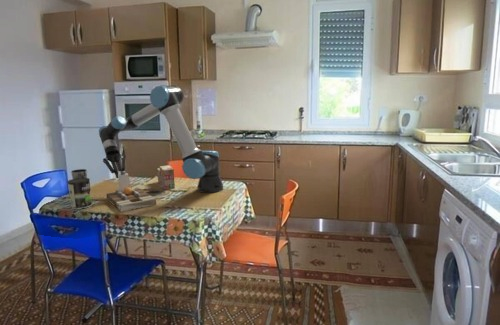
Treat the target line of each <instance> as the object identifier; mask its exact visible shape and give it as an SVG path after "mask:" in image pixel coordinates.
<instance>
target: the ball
mask: <svg viewBox="0 0 500 325" xmlns="http://www.w3.org/2000/svg"><path fill="white" fill-rule="evenodd" d="M131 188H132V187H130V188H129V187H127V188H125V189H124V193H125V194H126V195H129V194H131V192H132V190H131Z"/></svg>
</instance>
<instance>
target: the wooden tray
mask: <svg viewBox="0 0 500 325" xmlns="http://www.w3.org/2000/svg"><path fill="white" fill-rule="evenodd" d="M130 188H131V190H132V192H131V194H129V195H126V194H125V193H122V192H120V191H119V188H118V189H117V188H116V189H115V191H114V192H109V193H106V200H107V201H109V202H110V201H111V202H112V203H113V204H114V205H115V206H116V207H115V206H114V205H113V204H112V203H111V202H110V203H111V204H112V205H113V206H114V207H115V208H117V210H119V211H120V212H121V211H123V212H127V211H126V210H128V211H131V209H133V210H137V209H136V208H138V209H141V207H143V208H147V207H151V206H156V205H157V199H156V198H155V197H154V196H152V195H151V194H149V193H147V192H146V191H144V190H142V189H141V188H140V187H136V188H132V187H130Z"/></svg>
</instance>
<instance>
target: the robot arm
mask: <svg viewBox="0 0 500 325" xmlns="http://www.w3.org/2000/svg"><path fill="white" fill-rule="evenodd" d="M149 95H150V96H149V101H150V104H149V105H147V106H145V107H143V108H142V109H140V110H138V111H137V112H136V113H134V114H132V115H130V116H129V117H125V118H124V117H123V116H121V115H115V117H113V118H112V119H111V121H110V122H109V124H108V125H102V126H101V127H99V129H98V135H99V137H100V138H99V139H100V141H101V144H102V146H103V150H104V153H105V156H106V157H105V158H103V159H102V162H103V163H104V165H106V167H107V169H108V170H109V172H110V173H111V174H114V175H115V177H116V178H117V179H118V174H121V173H120V172H121V171H125V172H126V163H125V162H126V161H125V160H126V155H122V154H121V153H120V150H119V148H118V145H117V142H116V137H117V136H118V134H119V133H121V132H126V131H132V130H133V131H134V130H137V129H138V128H140V126H141V125H143V124H144V123H146V122H148V121H150V120H151V119H153V118H155V117H157V116H158V115H160V114H161V115H163V116H164V117H165V119H166V121H167V124H168V126H169V128H170V129H171V132H172V134H173V136H174V138H175V140H176V142H177V145H178V147H179V149H180V151H181V154H182V157H181V160H182V162H183V163H182V172H183V173H184V175H185V176H186V177H188V179H192V180H197V179H198V182H197V191H198V192H200V193H217V192H220V191H222V190H223V189H224V184H223V181H222V178H221V176H220V172H221V171H220V154H219V151H217V150H201V149H200V148H198V145H197V144H196V142H195V140H194V138H193V135H192V134H191V132H190V130H189V127H188V126H187V123H186V121H185V118H184V116H183V114H182V112H181V110H180V108H181V104H182V103H183V101H184V98H185V97H184V96H185V95H184V91H183V90H182V89H181V88H180V87H179V86H177V85H158V86H157V85H156V86H155V87H154V88H153V89H151V91H150V94H149ZM120 160H121V163H120Z"/></svg>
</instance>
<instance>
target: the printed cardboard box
mask: <svg viewBox="0 0 500 325" xmlns="http://www.w3.org/2000/svg"><path fill="white" fill-rule="evenodd" d="M174 171H175V170H174V168H173V167H172V166H170V164H168V165H161V166H159V168H158V167H157V168H156V173H157V182H158V183H159V184H160V186H161V187H162V188H163V190H165V191H166V190H173V189H175V188H176V187H175V186H176V185H175V172H174Z"/></svg>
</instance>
